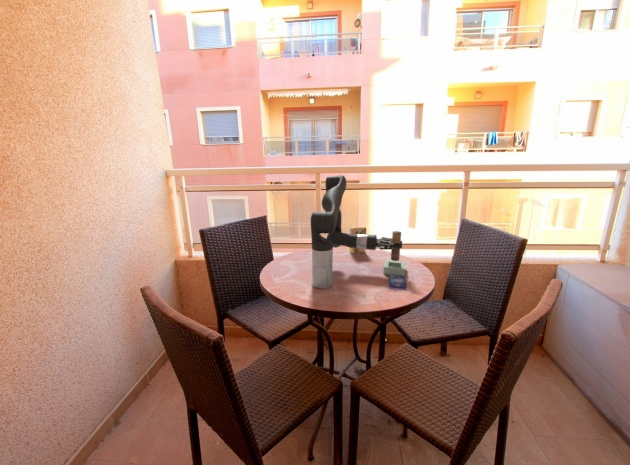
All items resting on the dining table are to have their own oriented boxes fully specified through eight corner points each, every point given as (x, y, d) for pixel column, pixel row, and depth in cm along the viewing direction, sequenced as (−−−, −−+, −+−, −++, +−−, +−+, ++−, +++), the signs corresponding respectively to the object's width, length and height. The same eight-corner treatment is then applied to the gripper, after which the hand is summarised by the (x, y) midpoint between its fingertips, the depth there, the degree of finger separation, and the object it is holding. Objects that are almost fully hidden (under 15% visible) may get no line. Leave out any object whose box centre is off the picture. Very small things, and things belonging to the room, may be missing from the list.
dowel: (399, 261, 143) (401, 233, 139) (390, 260, 144) (392, 233, 140) (399, 258, 146) (401, 231, 143) (391, 257, 147) (392, 231, 144)
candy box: (363, 250, 179) (363, 226, 175) (365, 252, 175) (366, 227, 171) (349, 251, 177) (349, 227, 173) (351, 253, 173) (352, 228, 169)
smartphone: (405, 275, 140) (406, 289, 126) (405, 277, 140) (406, 291, 126) (389, 274, 141) (389, 287, 127) (389, 275, 142) (389, 289, 128)
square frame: (404, 276, 140) (405, 269, 140) (383, 273, 143) (383, 267, 142) (404, 268, 150) (405, 262, 149) (384, 266, 152) (384, 260, 152)
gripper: (365, 238, 139) (402, 241, 135) (368, 231, 152) (402, 233, 148) (364, 253, 141) (401, 256, 137) (367, 244, 154) (401, 247, 150)
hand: (401, 244), depth 142 cm, fingers closed on dowel, 4 cm apart
